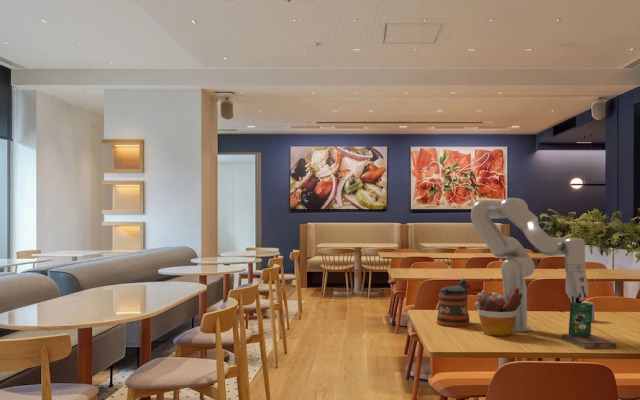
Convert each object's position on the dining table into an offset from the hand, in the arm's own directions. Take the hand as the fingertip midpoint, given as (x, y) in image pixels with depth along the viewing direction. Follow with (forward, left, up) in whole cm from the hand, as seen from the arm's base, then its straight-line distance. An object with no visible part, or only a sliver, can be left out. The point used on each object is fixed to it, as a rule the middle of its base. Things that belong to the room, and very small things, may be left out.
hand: (576, 314), depth 226 cm
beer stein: (-40, +35, -10) cm, 54 cm away
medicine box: (+23, +39, -10) cm, 47 cm away
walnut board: (0, -9, -10) cm, 13 cm away
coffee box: (0, -3, -8) cm, 9 cm away
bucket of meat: (-28, +10, -10) cm, 32 cm away
